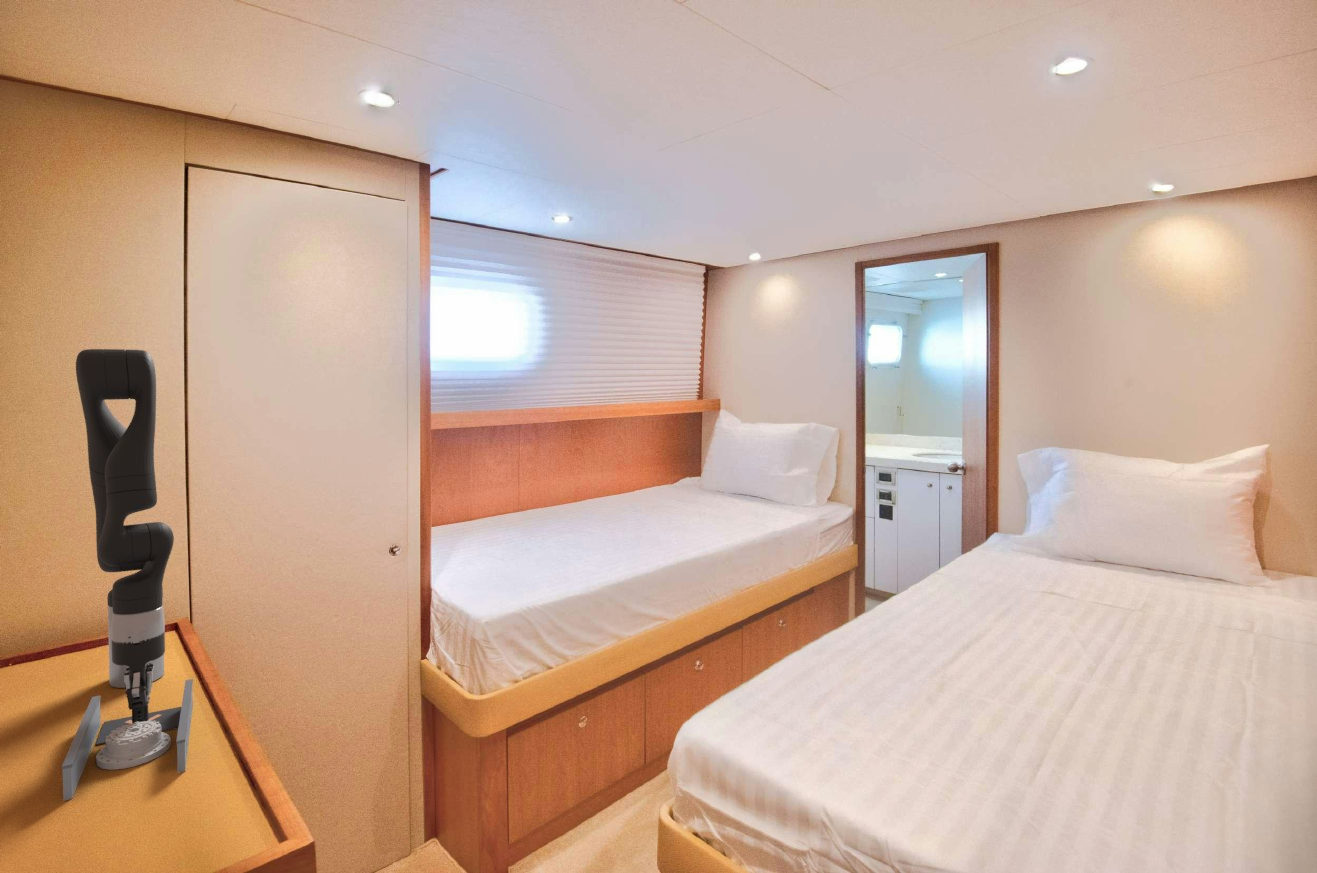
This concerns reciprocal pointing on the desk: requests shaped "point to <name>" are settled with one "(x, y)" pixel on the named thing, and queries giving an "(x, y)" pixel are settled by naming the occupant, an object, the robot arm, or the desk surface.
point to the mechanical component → (133, 745)
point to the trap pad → (164, 717)
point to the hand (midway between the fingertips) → (140, 725)
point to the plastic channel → (89, 730)
